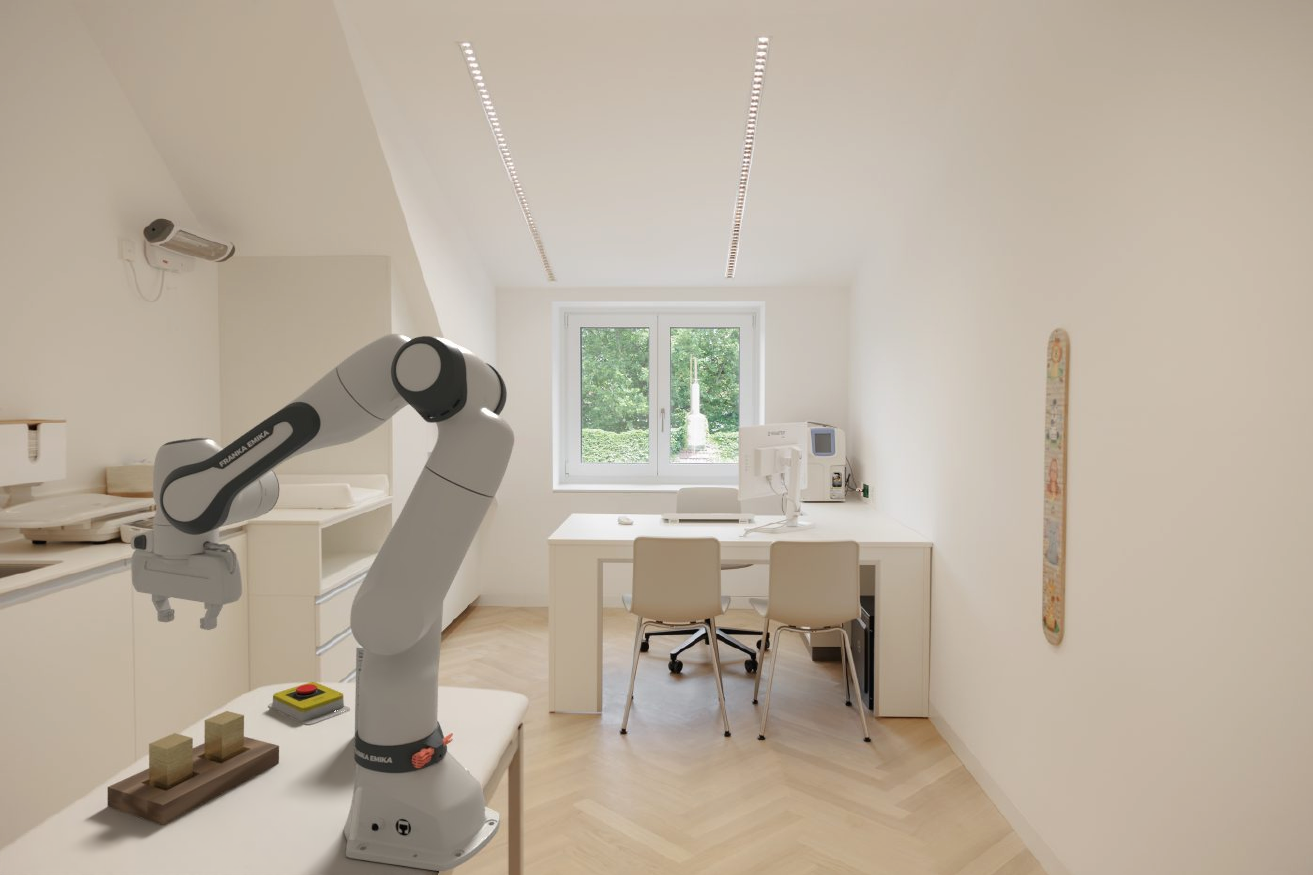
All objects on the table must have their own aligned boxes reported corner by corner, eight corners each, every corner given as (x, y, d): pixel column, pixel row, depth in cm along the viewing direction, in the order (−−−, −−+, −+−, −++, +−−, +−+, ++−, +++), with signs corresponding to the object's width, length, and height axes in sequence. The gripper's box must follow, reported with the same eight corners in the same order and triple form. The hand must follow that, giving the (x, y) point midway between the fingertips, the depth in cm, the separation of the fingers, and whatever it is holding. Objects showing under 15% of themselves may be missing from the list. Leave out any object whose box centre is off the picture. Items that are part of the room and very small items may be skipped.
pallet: (278, 762, 123) (279, 745, 123) (162, 825, 104) (162, 804, 104) (227, 748, 127) (228, 732, 127) (107, 806, 109) (107, 787, 109)
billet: (192, 794, 113) (192, 737, 112) (167, 807, 109) (167, 749, 109) (174, 788, 114) (174, 733, 114) (148, 801, 110) (149, 743, 110)
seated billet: (243, 767, 121) (244, 715, 121) (221, 778, 118) (222, 724, 117) (226, 762, 123) (226, 710, 122) (204, 773, 119) (204, 720, 119)
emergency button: (310, 673, 153) (352, 690, 145) (309, 693, 153) (352, 712, 145) (266, 686, 145) (308, 705, 137) (266, 708, 146) (308, 728, 137)
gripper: (252, 541, 115) (252, 627, 115) (161, 531, 121) (161, 612, 122) (216, 548, 109) (216, 639, 109) (122, 537, 115) (123, 622, 116)
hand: (186, 624), depth 116 cm, fingers open, 8 cm apart
